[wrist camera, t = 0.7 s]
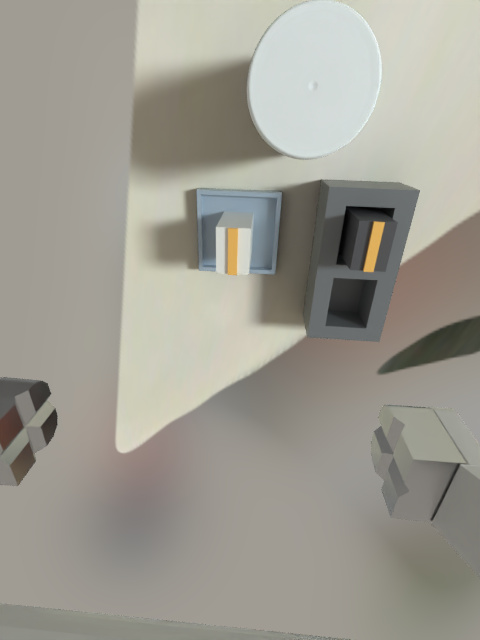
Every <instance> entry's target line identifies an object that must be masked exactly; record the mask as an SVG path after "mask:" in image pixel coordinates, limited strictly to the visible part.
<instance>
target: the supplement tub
mask: <svg viewBox="0 0 480 640" xmlns="http://www.w3.org/2000/svg"><path fill="white" fill-rule="evenodd" d="M381 72H382V66H381V56H380V51H379V47H378V44H377V41H376V38H375V36H374V34H373V31H372V30H371V28H370V26H369V25H368V23H367V22H366V21H365V20H364V18H363V17H362V16H361V15H360V14H359V13H357V12H356V11H355V10H353V9H352V8H351V7H349V6H347V5H345V4H343V3H340V2H337V1H333V0H311V1H306V2H303V3H300V4H298V5H296V6H294V7H292V8H290V9H288V10H287V11H285V12H284V13H283V14H282V15H280V16H279V17H278V18H277V19H276V20H275V21H274V22H273V23H272V24H271V25H270V26H269V27H268V29H267V30H266V32H265V33H264V34H263V36H262V37H261V39H260V41H259V43H258V45H257V47H256V49H255V52H254V54H253V57H252V60H251V63H250V67H249V72H248V77H247V102H248V108H249V112H250V115H251V119H252V121H253V123H254V126H255V128H256V130H257V131H258V133H259V134H260V136H261V137H262V138H263V140H264V141H265V142H266V143H267V144H268V145H269V146H270V147H272V148H273V149H274V150H276V151H277V152H279V153H281V154H283V155H285V156H288V157H291V158H295V159H302V160H309V159H317V158H321V157H324V156H327V155H329V154H332V153H334V152H335V151H337V150H339V149H341V148H342V147H344V146H345V145H346V144H348V143H349V142H350V141H351V140H352V139H353V138H354V137H355V136H356V135H357V134H358V133H359V132H360V131H361V129H362V128H363V126H364V125H365V124H366V122H367V121H368V119H369V117H370V115H371V113H372V111H373V109H374V106H375V103H376V101H377V97H378V94H379V90H380V84H381Z"/></svg>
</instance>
